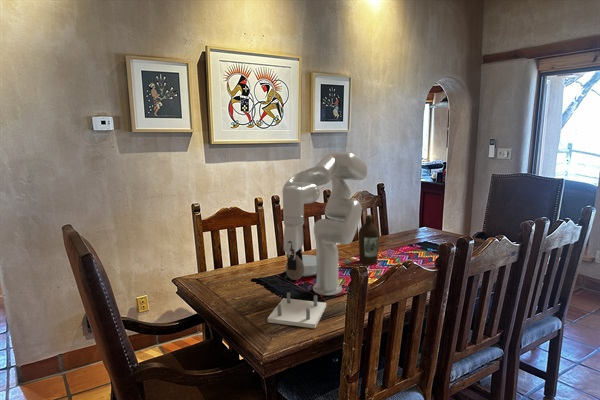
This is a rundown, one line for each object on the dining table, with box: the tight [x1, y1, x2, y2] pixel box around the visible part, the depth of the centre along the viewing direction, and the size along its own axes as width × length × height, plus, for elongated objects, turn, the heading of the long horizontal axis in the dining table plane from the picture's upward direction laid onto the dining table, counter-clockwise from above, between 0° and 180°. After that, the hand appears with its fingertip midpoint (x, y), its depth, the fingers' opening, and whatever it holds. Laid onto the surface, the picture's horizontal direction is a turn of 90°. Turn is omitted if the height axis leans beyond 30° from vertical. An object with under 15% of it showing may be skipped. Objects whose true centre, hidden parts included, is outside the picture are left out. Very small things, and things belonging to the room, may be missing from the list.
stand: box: [267, 291, 327, 329], centre depth 150 cm, size 18×18×6 cm
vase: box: [285, 255, 304, 281], centre depth 147 cm, size 7×7×9 cm
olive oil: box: [358, 214, 380, 266], centre depth 205 cm, size 11×11×25 cm
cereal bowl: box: [302, 254, 317, 277], centre depth 191 cm, size 17×17×7 cm
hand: (295, 265), depth 147 cm, fingers closed on vase, 6 cm apart
